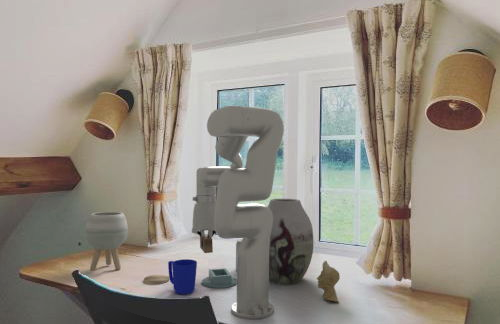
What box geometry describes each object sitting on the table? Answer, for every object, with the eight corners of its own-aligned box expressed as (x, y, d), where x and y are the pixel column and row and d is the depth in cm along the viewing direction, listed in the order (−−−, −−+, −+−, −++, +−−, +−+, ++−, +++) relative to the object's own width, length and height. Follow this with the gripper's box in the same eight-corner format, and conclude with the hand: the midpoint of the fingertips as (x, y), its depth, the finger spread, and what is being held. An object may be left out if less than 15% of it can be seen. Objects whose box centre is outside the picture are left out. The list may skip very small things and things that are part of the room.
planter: (109, 261, 164) (110, 210, 164) (135, 266, 156) (136, 213, 156) (76, 270, 150) (77, 214, 151) (102, 276, 142) (103, 217, 142)
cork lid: (170, 284, 135) (170, 280, 135) (144, 286, 133) (144, 282, 133) (168, 276, 144) (168, 273, 144) (143, 278, 141) (143, 275, 141)
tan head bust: (338, 305, 115) (339, 266, 115) (315, 303, 117) (315, 264, 117) (339, 296, 123) (340, 260, 123) (318, 294, 125) (318, 258, 125)
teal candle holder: (241, 286, 133) (241, 276, 133) (205, 289, 129) (205, 279, 129) (232, 275, 145) (232, 266, 145) (199, 278, 141) (199, 268, 141)
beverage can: (249, 272, 150) (250, 242, 151) (234, 271, 152) (234, 241, 152) (252, 267, 157) (253, 239, 157) (237, 266, 158) (238, 238, 158)
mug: (178, 284, 134) (178, 256, 134) (201, 291, 127) (202, 262, 127) (159, 289, 128) (159, 260, 128) (182, 298, 120) (183, 266, 120)
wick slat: (207, 246, 149) (212, 252, 139) (200, 247, 148) (204, 253, 138) (207, 234, 149) (212, 238, 139) (199, 234, 148) (204, 239, 138)
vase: (263, 290, 128) (264, 203, 129) (250, 273, 149) (251, 197, 149) (321, 287, 132) (322, 202, 133) (301, 270, 153) (302, 197, 154)
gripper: (187, 201, 138) (187, 251, 137) (227, 200, 142) (227, 249, 141) (185, 199, 145) (185, 247, 144) (223, 198, 149) (223, 245, 149)
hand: (206, 248), depth 143 cm, fingers closed on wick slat
